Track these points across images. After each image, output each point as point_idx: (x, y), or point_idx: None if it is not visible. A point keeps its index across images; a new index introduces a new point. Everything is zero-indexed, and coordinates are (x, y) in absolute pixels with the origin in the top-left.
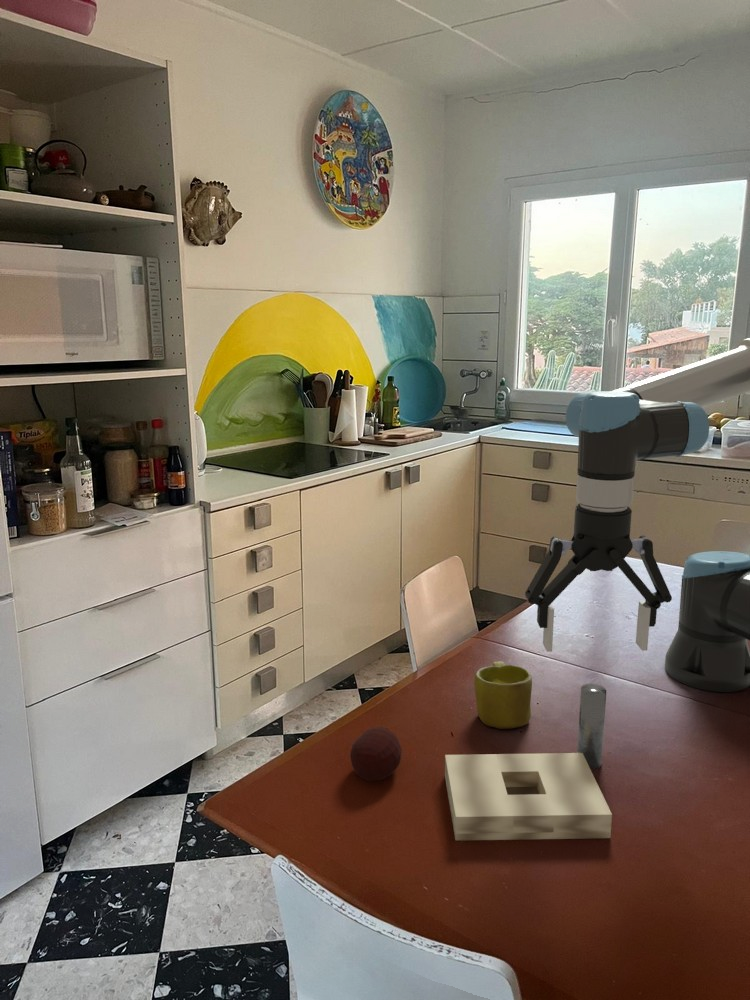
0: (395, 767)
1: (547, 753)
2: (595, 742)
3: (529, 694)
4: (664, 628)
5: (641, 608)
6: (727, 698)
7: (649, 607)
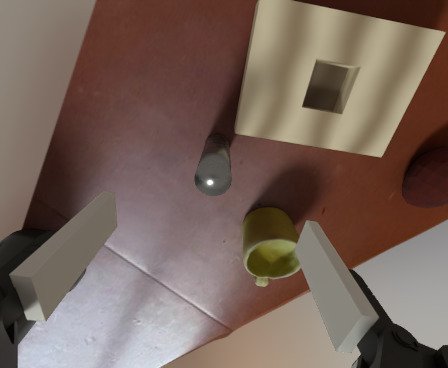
0: (426, 156)
1: (273, 139)
2: (216, 141)
3: (252, 232)
4: (65, 322)
5: (51, 288)
6: (39, 220)
7: (13, 278)
